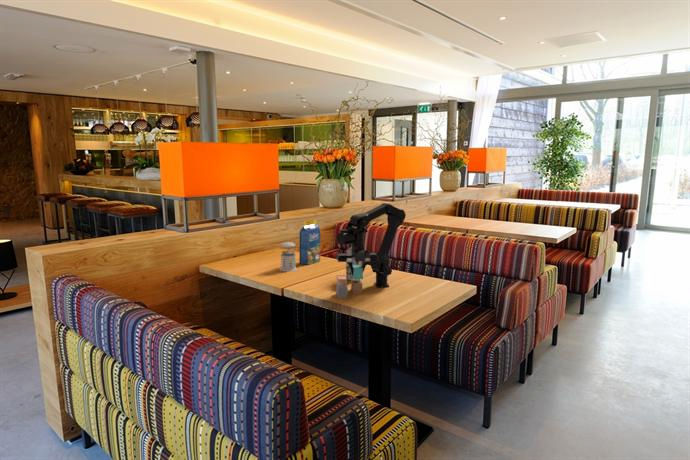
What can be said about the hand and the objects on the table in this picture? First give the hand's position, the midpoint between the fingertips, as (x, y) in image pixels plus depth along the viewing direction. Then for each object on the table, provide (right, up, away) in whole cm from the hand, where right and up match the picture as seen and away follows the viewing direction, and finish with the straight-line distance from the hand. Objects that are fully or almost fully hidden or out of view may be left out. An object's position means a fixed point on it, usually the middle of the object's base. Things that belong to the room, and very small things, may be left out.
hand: (357, 275), depth 211 cm
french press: (-37, -1, +38) cm, 53 cm away
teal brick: (0, -1, 0) cm, 1 cm away
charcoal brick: (-7, -9, -6) cm, 13 cm away
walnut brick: (0, -8, +1) cm, 8 cm away
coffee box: (-1, -4, +23) cm, 24 cm away
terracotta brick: (-7, -7, +8) cm, 13 cm away
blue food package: (-26, +2, +55) cm, 61 cm away
